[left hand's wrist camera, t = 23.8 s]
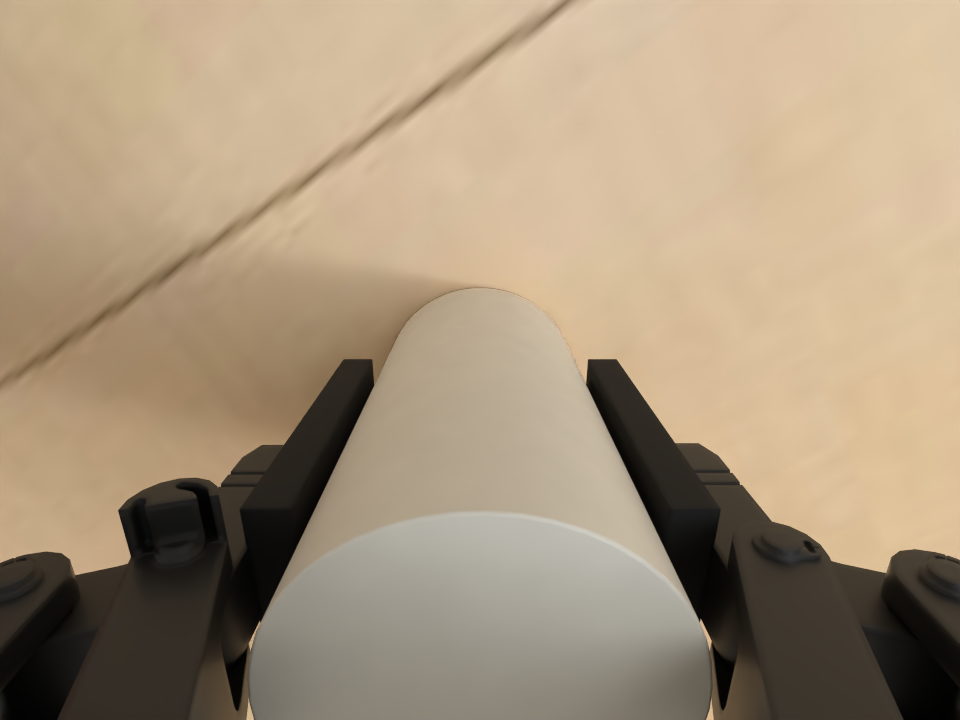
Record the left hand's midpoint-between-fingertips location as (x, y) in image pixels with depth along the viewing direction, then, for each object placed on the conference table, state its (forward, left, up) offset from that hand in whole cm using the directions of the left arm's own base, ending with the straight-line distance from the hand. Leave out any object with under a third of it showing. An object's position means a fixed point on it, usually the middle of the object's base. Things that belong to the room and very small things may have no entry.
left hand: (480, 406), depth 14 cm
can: (0, 0, -2) cm, 2 cm away
